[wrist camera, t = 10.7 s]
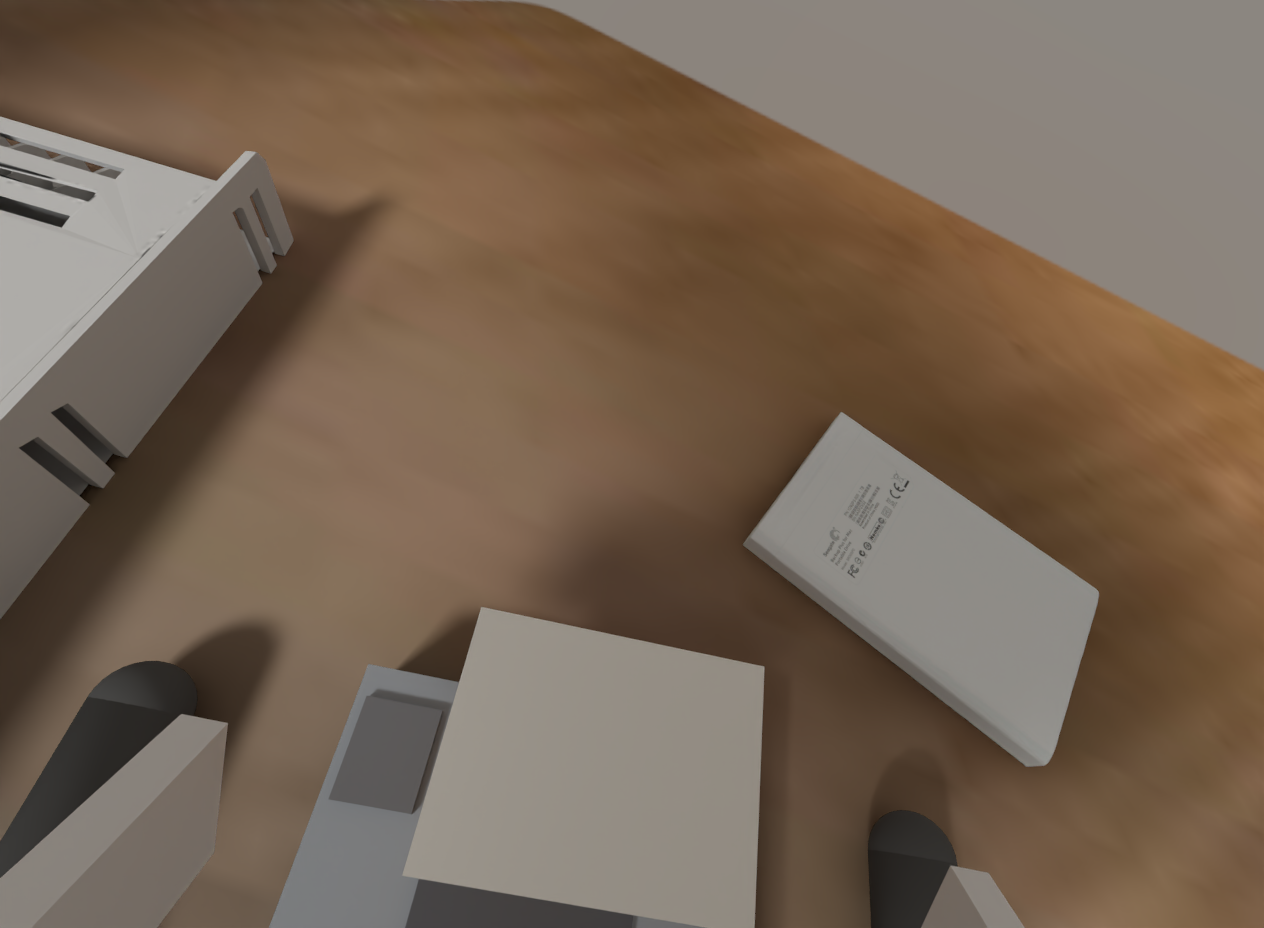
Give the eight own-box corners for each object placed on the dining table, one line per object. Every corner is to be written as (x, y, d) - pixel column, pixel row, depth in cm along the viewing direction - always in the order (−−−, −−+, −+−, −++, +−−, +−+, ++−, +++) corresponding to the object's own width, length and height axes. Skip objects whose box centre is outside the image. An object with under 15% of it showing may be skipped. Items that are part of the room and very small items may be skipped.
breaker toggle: (618, 866, 15) (753, 935, 7) (454, 837, 14) (402, 875, 6) (637, 732, 16) (764, 666, 8) (489, 704, 16) (481, 606, 8)
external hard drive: (1015, 768, 21) (736, 549, 24) (1070, 599, 25) (828, 426, 28) (1051, 766, 20) (751, 533, 22) (1103, 588, 24) (845, 406, 26)
